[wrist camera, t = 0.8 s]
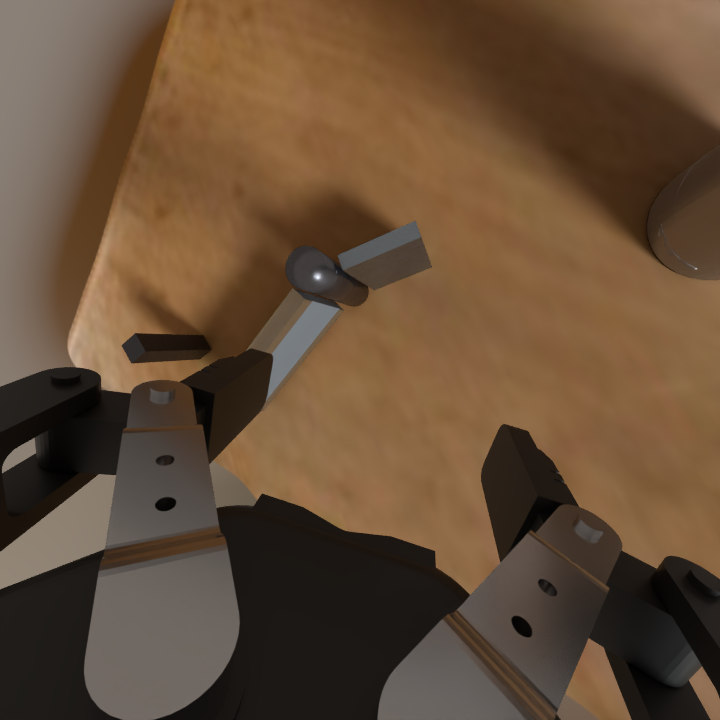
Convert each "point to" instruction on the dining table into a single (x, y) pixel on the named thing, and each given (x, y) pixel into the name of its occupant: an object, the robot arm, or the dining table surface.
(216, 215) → the dining table surface
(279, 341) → the gate
